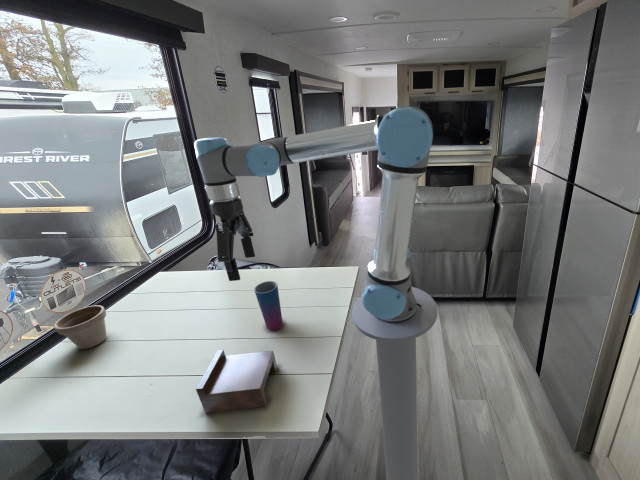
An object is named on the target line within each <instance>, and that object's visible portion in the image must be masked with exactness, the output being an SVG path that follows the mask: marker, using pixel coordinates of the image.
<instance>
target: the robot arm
mask: <svg viewBox="0 0 640 480" xmlns="http://www.w3.org/2000/svg"><path fill="white" fill-rule="evenodd" d="M433 138H434V129H433V123H432V120H431V118H430V116H429V115H428V114H427V112H426V111H425V110H423V109H422V108H419V107H417V106H412V105H407V106H399V107H396V108H394V109H391V110H390V111H389V112H388V113H385V114H379V115H377V116H376V118H375V119H374V120H370V121H363V122H358V123H353V124H347V125H343V126H339V127H338V126H337V127H331V128H326V129H321V130H315V131H310V132H304V133H299V134H293V135H289V136H283V137H274V138H271V139H268V140H266V141H262V142H256V143H252V144H247V145H230V144H229V142H228V139H226V138H225V137H206V138H200V139H196V140H195V141H194V142H193V146H194V150H195V151H194V152H195V156H196V160H197V164H198V166H199V170H200V172H201V175H202V179H203V183H204V190H205V191H206V194H207V197H208V200H210V202H209V205H210V208H211V212H212V215H214V216H217V217H219V219H220V220H219V221H220V222H218V223H215V225H214V228H215V232H216V248H217V262H218V263H224V268H225V272H226V275H227V278H228V281H229V282H235V281H236V282H237V281H240V280H241V275H240V272H239V267H238V263H237V261H236V257H234V245H235V236H237V233H238V235H240V242H241V246H242V250H243V253H244V257H245V258H246V259H247V258H255V257H256V254H255V253H256V252H255V250H254V245H253V241H252V237H254V232H253V228H252V227H251V225H250V222H249V221H248V219H247V217H246V215H245V212H244V205H243V201H242V197H240V195H241V192H240V188H239V184H238V180H237V177H259V178H264V177H270V176H274V175H276V174H277V171H278V170H279V168H280V167H281V166H286V165H288V166H289V165H293V164H297V163H298V164H299V163H303V162H310V161H311V162H312V161H316V160H323V159H329V158H335V157H341V156H348V155H354V154H361V153H365V152H372V151H373V152H374V151H377V164H376V168H378V170H379V171H380V172H381V174H382V179H381V188H380V198H379V199H380V200H379V208H378V209H379V210H378V219H377V227H376V237H375V246H374V247H375V248H374V250H373V255H372V257H373V259H372V260H370V261H369V263H368V265H367V271H366V272H367V273H366V283H365V288H364V290H363V293H362V294H361V296H362V303H363V306H364V308H365V309H366V310H367V311H368V312H369V313H370V314H371V315H373V316H375V317H376V318H378V319H379V320H381V321H384V322H388V323H400V322H404V321H407V320H409V319H410V318H412V317H413V316H414V315H415V313H416V311H417V306H419V307H422V306H421V305H420V304H418V303H417V302H416V299H415V297H414V294H413V292H412V289H411V287H412V259H411V258H412V256H411V249H410V248H409V246H410V240H411V232H412V227H413V220H414V213H415V205H416V200H417V193H418V185H419V180H420V178H421V177H422V176H424V175H425V174H426V173H427V170H428V165H429V164H428V163H429V157H430V152H431V147H432V144H433Z"/></svg>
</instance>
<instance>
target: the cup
mask: <svg viewBox="0 0 640 480" xmlns="http://www.w3.org/2000/svg"><path fill="white" fill-rule="evenodd" d="M253 290H254V294H255V297H256V300H257V303H258V306H259V309H260V312H261V315H262V317H263V320H264V324H265V327H266V329H267V330H268V331H277V330H279V329H280V328H282V327H283V325H284V323H283V322H284V321H283V315H282V307H281V301H280V293H279V286H278V283H277V282H276V281H273V280H266V281H263V282H260V283H259V284H257V285H256V286H255V287H254V289H253Z"/></svg>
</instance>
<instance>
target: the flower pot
mask: <svg viewBox="0 0 640 480" xmlns="http://www.w3.org/2000/svg"><path fill="white" fill-rule="evenodd" d="M106 316H107V311H106V310H105V307H104V306H103V305H99V304H98V305H96V304H95V305H90V306H84V307H82V308H78V309H77V310H74V311H71V312H69V313H67V314H65V315H63V316H61V317H60V318H59V319H58V320H57V321H56V322H55V323H54V325H53V328H54V330H55V331H56V333H57V334H58V335H61V336H65V337H66V338H67V339H68V340H69V341H71V342H72V343H73V344H74V345H75V346H76V347H78V348H79V349H81V350H86V349H90V348H94V347H95V346H96V347H97V345H100V344H101V343H103V342H104V341H105V340H106V338H107V327H106V322H105V321H106V320H105V318H106Z"/></svg>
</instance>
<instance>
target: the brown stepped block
mask: <svg viewBox="0 0 640 480" xmlns="http://www.w3.org/2000/svg"><path fill="white" fill-rule="evenodd" d="M277 369H278V365H277V361H276V357H275V353H274V350H265V351H257V352H246V353H238V354H227V355H226V354H225V350H224V349H218V350H216V352H215V354H214V356H213V358H212V360H211V361H210V363H209V365H208V366H207V368H206V370H205V371H204V374H203V376H202V377H201V379H200V381H199V382H198V385H197V387H196V388H195V391H196V393H197V396H198V399H199V401H200V403H201V406H202V409H203V411H204V413H205V414H212V413H219V412H226V411H235V410H243V409H253V408H261V407H266V405H267V403H268V399H267V396H266V392H265V388H266V387H265V386H266V383H267V380H268V378H269V374H270V373H275V372H277Z"/></svg>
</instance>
